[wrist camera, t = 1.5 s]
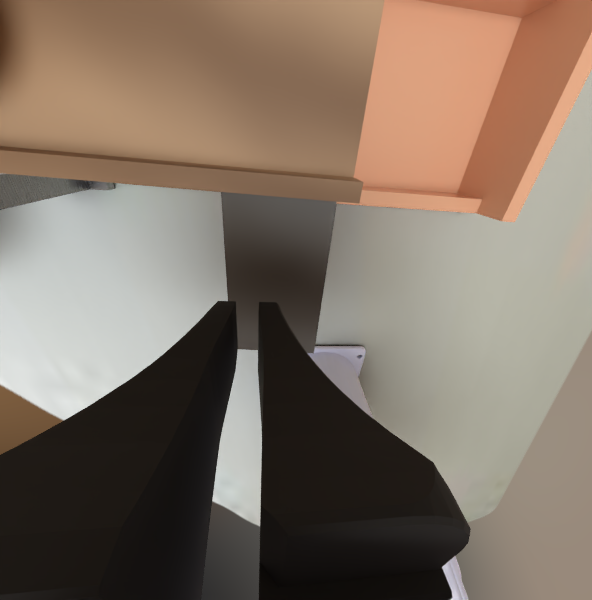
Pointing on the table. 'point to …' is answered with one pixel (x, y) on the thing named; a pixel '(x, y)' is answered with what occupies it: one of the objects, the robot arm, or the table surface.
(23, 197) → the pivot stand
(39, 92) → the tipping chute
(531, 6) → the tray
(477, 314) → the table surface
